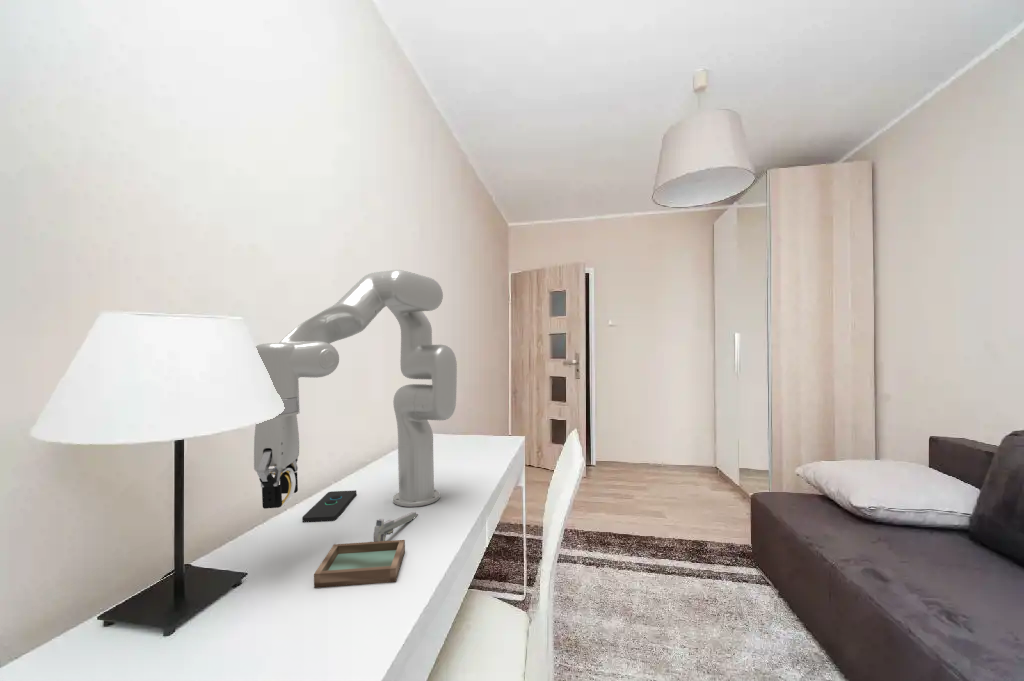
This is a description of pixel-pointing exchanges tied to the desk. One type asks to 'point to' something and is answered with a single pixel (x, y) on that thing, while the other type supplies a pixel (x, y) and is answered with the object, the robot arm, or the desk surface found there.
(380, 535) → the caliper
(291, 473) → the ring
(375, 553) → the jewellery tray
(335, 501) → the smart home device
